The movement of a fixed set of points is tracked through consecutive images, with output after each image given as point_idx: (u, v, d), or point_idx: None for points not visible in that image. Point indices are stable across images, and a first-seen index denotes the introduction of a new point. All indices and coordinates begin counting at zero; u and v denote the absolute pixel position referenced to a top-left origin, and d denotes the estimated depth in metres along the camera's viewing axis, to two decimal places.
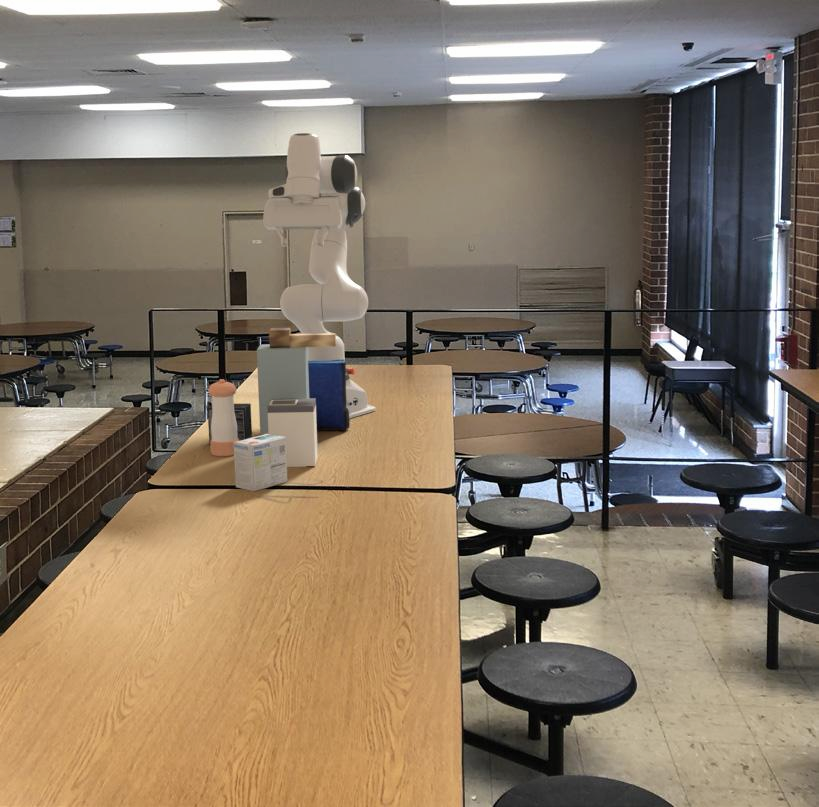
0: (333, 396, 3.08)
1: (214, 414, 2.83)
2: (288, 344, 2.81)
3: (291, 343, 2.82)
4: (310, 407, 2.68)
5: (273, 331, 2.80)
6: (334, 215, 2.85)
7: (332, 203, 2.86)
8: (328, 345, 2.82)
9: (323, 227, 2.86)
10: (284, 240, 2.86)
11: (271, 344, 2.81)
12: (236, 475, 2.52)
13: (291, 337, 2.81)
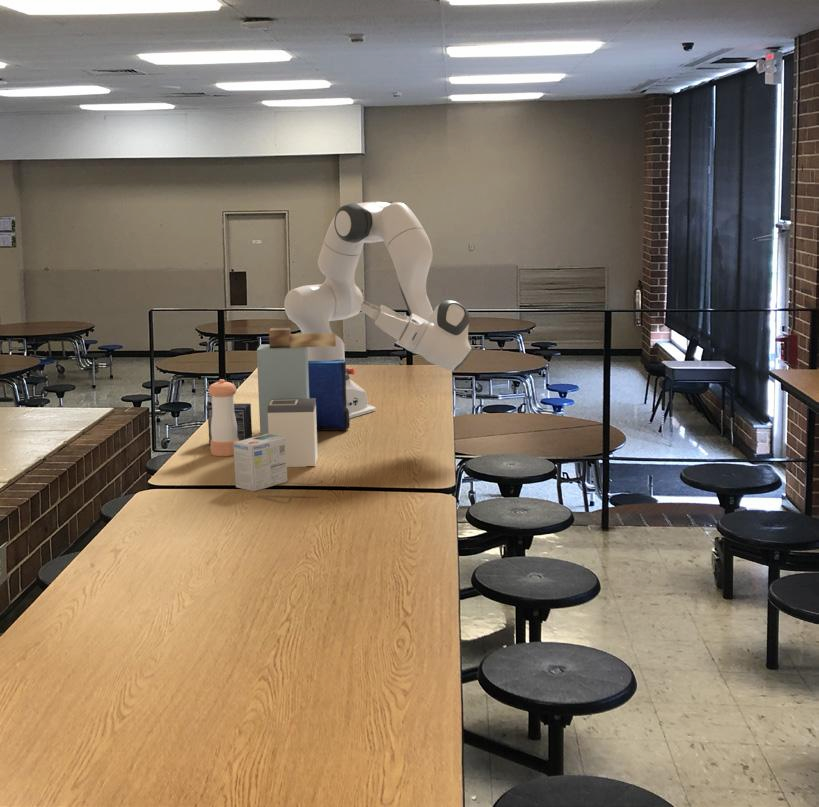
0: (332, 396, 3.08)
1: (214, 414, 2.83)
2: (288, 344, 2.81)
3: (291, 343, 2.82)
4: (310, 407, 2.68)
5: (273, 331, 2.80)
6: None
7: None
8: (328, 345, 2.82)
9: None
10: None
11: (271, 344, 2.81)
12: (236, 475, 2.52)
13: (291, 337, 2.81)
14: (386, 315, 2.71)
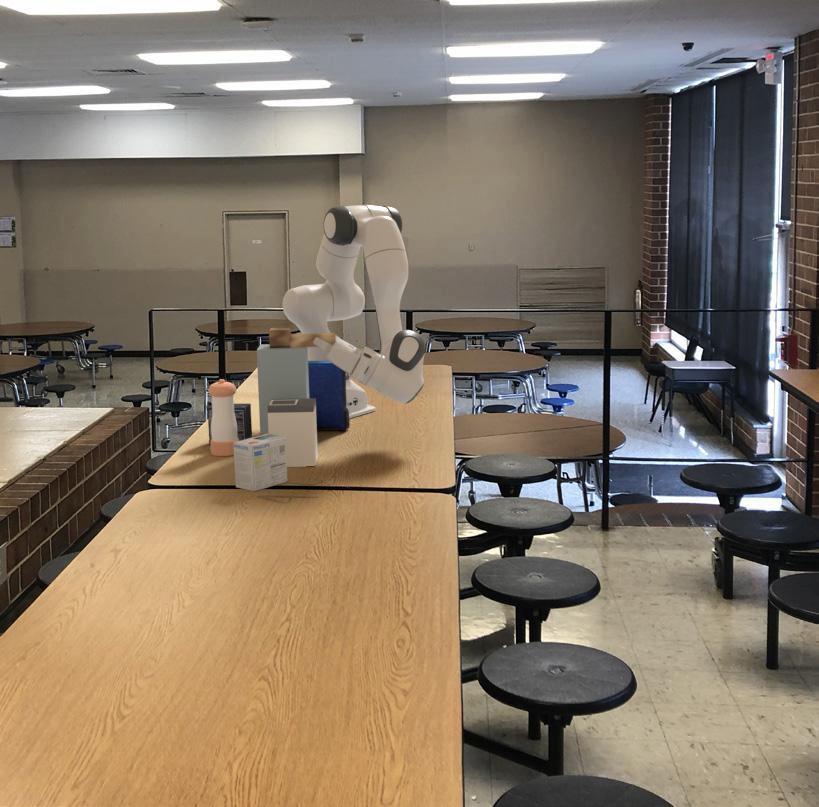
0: (333, 396, 3.08)
1: (214, 414, 2.83)
2: (288, 344, 2.81)
3: (291, 343, 2.82)
4: (310, 407, 2.68)
5: (273, 331, 2.80)
6: None
7: None
8: None
9: None
10: None
11: (271, 344, 2.81)
12: (236, 475, 2.52)
13: (291, 337, 2.81)
14: (338, 350, 2.74)
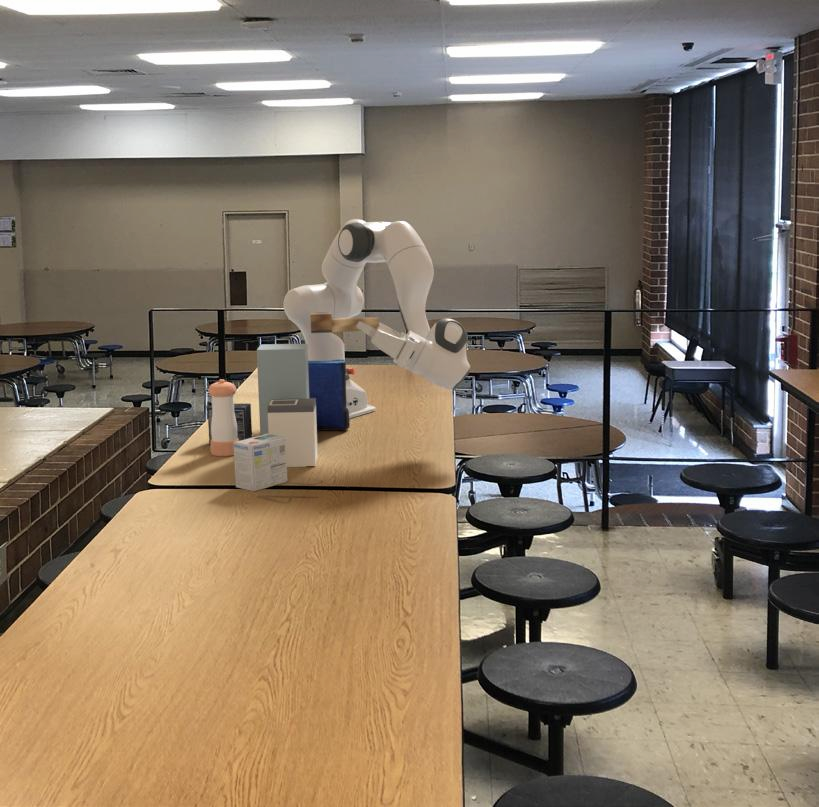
0: (332, 396, 3.08)
1: (214, 414, 2.83)
2: (330, 329, 2.71)
3: (333, 327, 2.72)
4: (310, 407, 2.68)
5: (315, 315, 2.70)
6: None
7: None
8: None
9: None
10: None
11: (312, 329, 2.71)
12: (236, 475, 2.52)
13: (333, 321, 2.71)
14: (383, 333, 2.64)
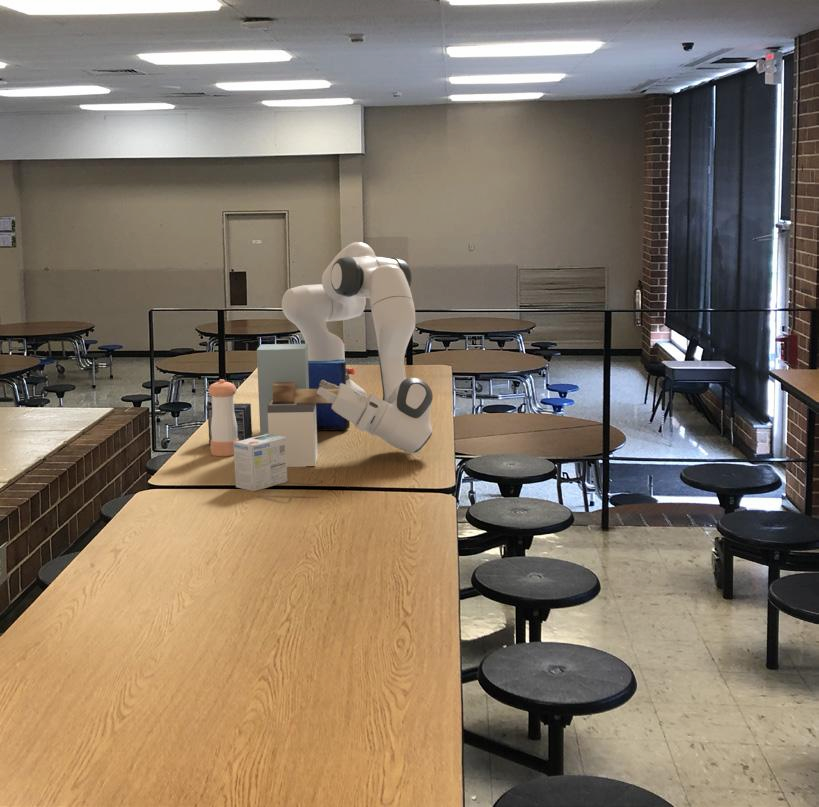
0: None
1: (214, 414, 2.83)
2: (292, 400, 2.70)
3: (295, 399, 2.71)
4: (310, 407, 2.68)
5: (277, 386, 2.69)
6: None
7: None
8: None
9: None
10: None
11: (274, 399, 2.70)
12: (236, 475, 2.52)
13: (295, 392, 2.71)
14: (343, 399, 2.63)
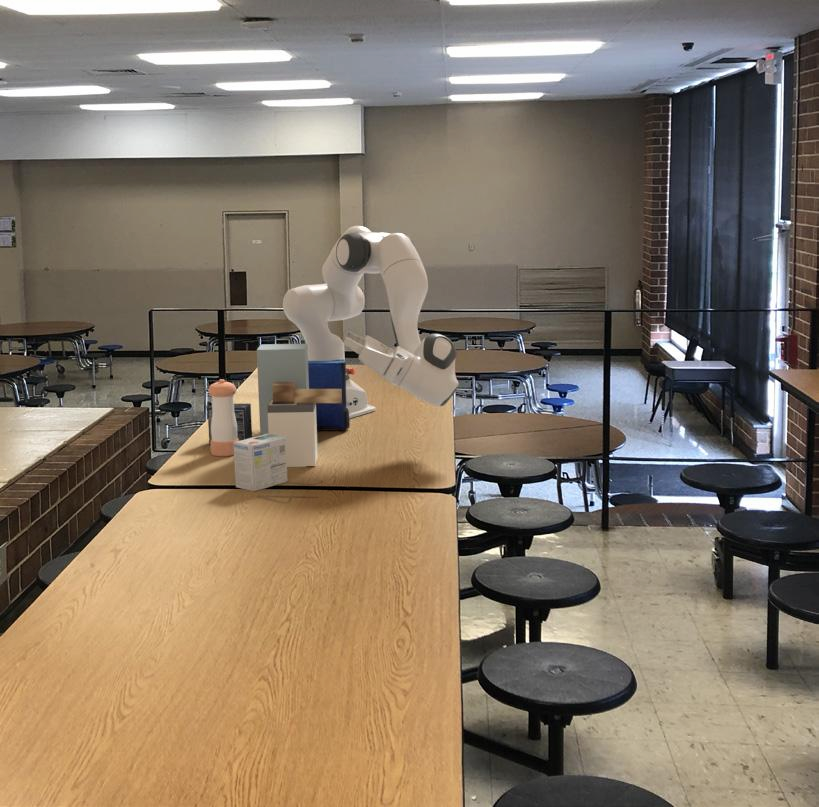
0: None
1: (214, 414, 2.83)
2: (292, 400, 2.70)
3: (295, 399, 2.71)
4: (310, 407, 2.68)
5: (277, 386, 2.69)
6: None
7: None
8: (334, 401, 2.72)
9: None
10: None
11: (274, 399, 2.70)
12: (236, 475, 2.52)
13: (295, 392, 2.71)
14: (370, 350, 2.61)
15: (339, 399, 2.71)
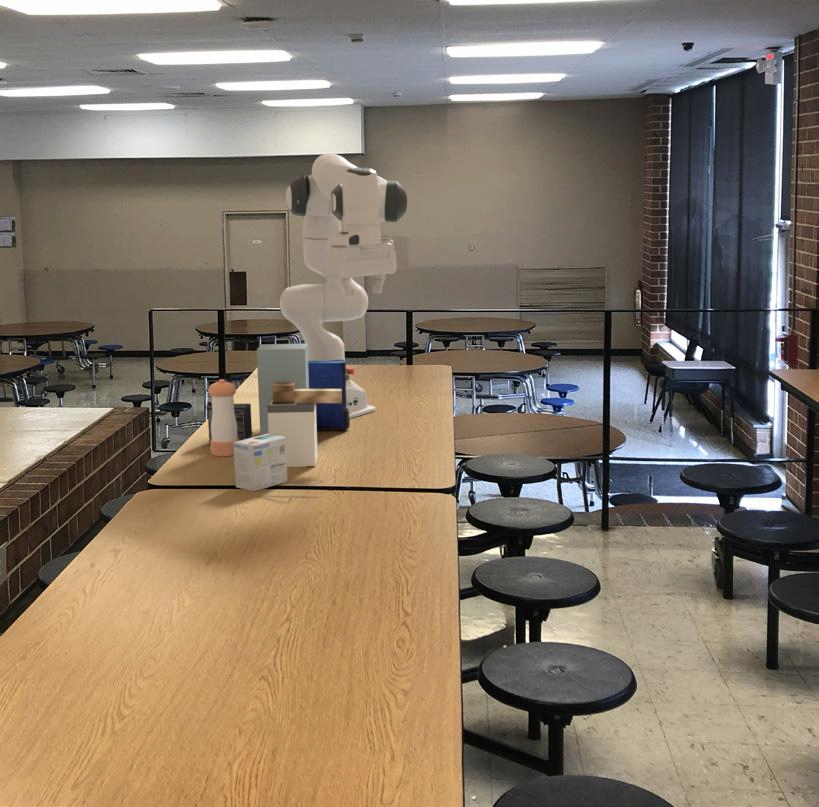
0: None
1: (214, 414, 2.83)
2: (292, 400, 2.70)
3: (295, 399, 2.71)
4: (310, 407, 2.68)
5: (277, 386, 2.69)
6: (392, 262, 2.72)
7: (390, 249, 2.71)
8: (334, 401, 2.72)
9: (382, 275, 2.71)
10: (352, 291, 2.65)
11: (274, 399, 2.70)
12: (236, 475, 2.52)
13: (295, 392, 2.71)
14: (327, 271, 2.62)
15: (339, 399, 2.71)
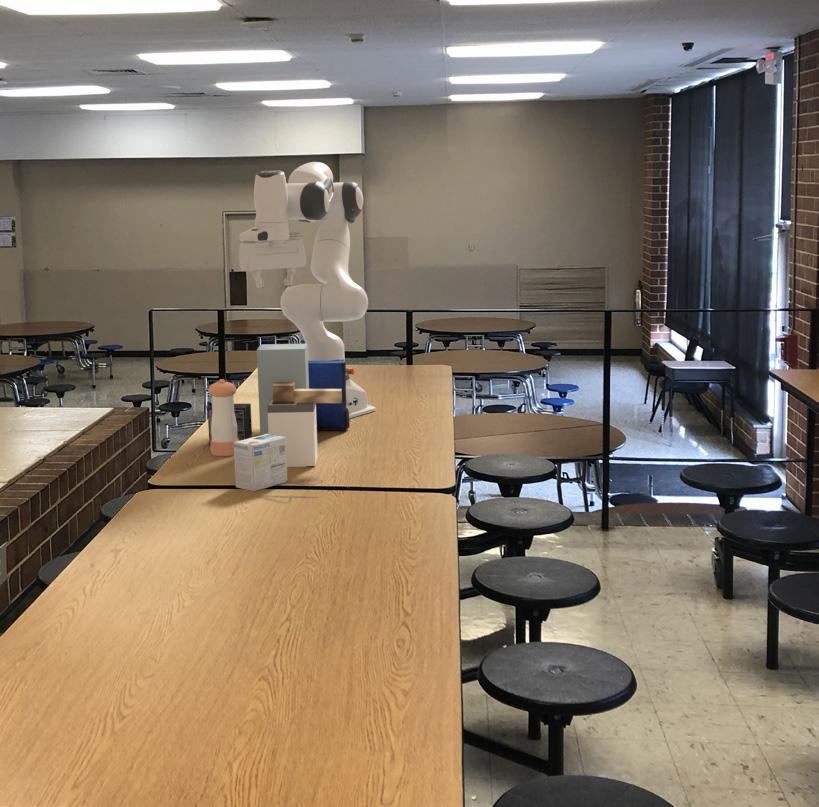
0: None
1: (214, 414, 2.83)
2: (292, 400, 2.70)
3: (295, 399, 2.71)
4: (310, 407, 2.68)
5: (277, 386, 2.69)
6: (302, 256, 2.98)
7: (299, 245, 2.97)
8: (334, 401, 2.72)
9: (292, 268, 2.97)
10: (263, 283, 2.90)
11: (274, 399, 2.70)
12: (236, 475, 2.52)
13: (295, 392, 2.71)
14: (239, 264, 2.87)
15: (339, 399, 2.71)
